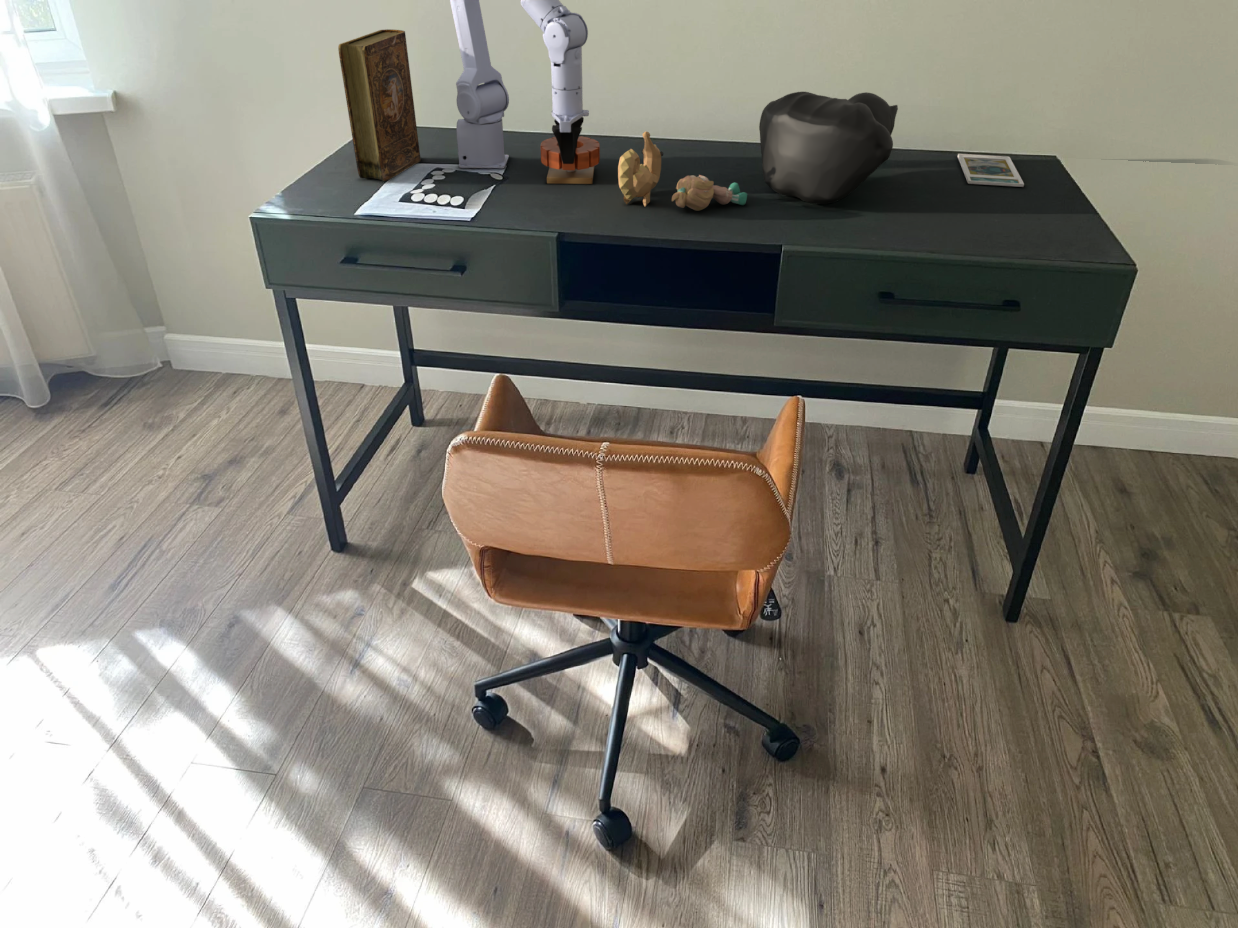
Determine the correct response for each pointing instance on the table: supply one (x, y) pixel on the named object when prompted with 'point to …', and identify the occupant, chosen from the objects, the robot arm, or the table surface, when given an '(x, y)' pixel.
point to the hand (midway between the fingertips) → (569, 160)
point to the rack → (570, 176)
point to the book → (380, 103)
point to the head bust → (824, 143)
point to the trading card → (990, 170)
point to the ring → (584, 154)
